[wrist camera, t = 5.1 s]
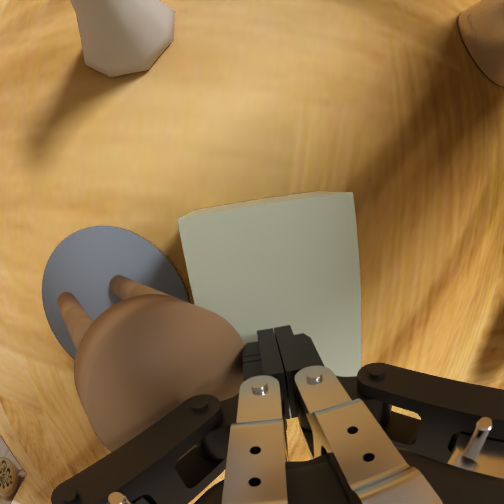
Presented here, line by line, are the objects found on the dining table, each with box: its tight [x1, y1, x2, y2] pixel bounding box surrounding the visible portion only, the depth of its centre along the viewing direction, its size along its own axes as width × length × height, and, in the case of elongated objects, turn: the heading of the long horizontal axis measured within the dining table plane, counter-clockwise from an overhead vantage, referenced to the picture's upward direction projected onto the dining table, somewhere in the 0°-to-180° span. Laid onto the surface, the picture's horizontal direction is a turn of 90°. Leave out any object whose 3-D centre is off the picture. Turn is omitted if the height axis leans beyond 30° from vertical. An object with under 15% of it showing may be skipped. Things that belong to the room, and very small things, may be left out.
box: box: [177, 191, 362, 417], centre depth 17 cm, size 8×12×6 cm, turn 9°
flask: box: [70, 0, 175, 77], centre depth 11 cm, size 7×7×10 cm
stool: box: [57, 275, 245, 462], centre depth 14 cm, size 12×7×13 cm, turn 99°
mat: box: [42, 226, 189, 359], centre depth 20 cm, size 13×13×1 cm
